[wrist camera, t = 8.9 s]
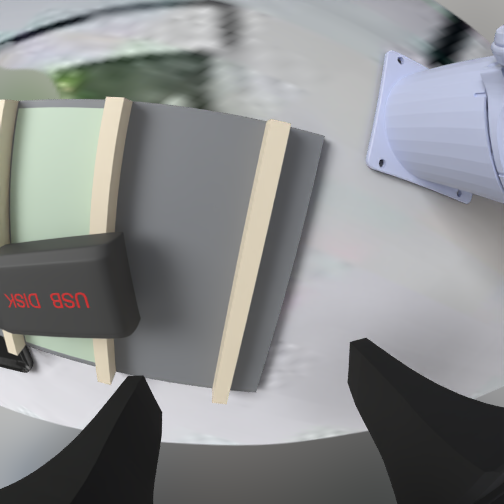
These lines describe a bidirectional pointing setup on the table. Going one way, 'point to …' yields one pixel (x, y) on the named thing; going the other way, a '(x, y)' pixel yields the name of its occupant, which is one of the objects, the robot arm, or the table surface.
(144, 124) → the gray striped board
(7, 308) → the usb drive
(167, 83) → the table surface
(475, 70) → the robot arm
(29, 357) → the phone
